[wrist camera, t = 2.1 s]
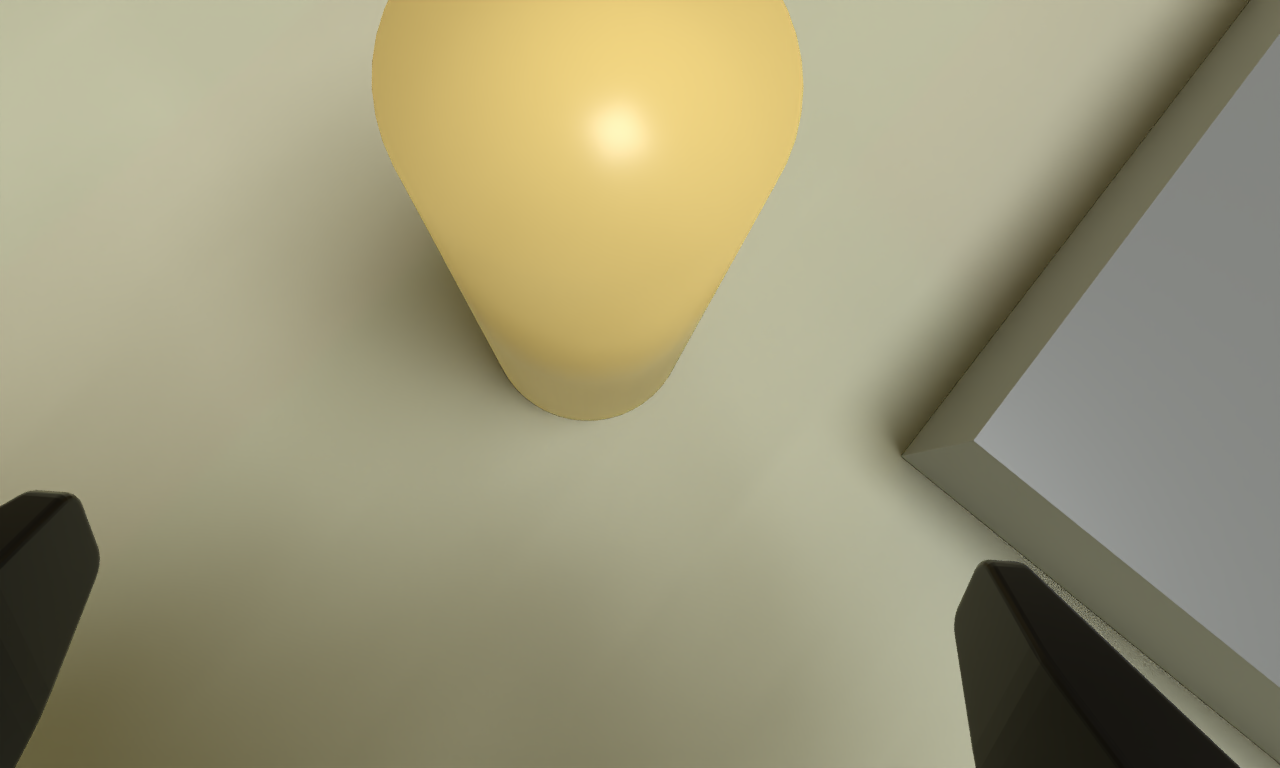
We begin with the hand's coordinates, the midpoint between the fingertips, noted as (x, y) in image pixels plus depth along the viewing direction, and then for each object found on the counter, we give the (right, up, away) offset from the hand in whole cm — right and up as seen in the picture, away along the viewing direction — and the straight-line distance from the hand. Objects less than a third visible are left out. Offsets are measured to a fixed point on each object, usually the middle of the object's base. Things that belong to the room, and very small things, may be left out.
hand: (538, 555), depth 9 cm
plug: (0, +3, +12) cm, 12 cm away
